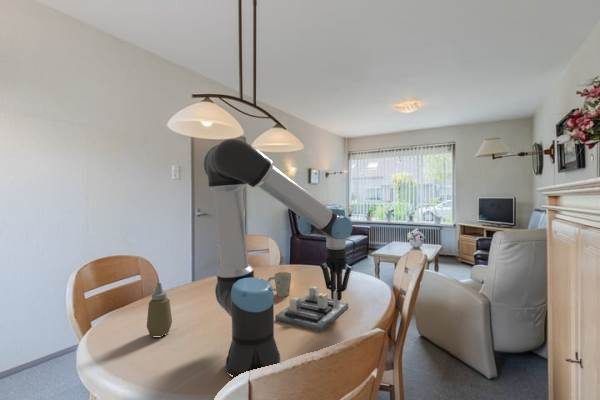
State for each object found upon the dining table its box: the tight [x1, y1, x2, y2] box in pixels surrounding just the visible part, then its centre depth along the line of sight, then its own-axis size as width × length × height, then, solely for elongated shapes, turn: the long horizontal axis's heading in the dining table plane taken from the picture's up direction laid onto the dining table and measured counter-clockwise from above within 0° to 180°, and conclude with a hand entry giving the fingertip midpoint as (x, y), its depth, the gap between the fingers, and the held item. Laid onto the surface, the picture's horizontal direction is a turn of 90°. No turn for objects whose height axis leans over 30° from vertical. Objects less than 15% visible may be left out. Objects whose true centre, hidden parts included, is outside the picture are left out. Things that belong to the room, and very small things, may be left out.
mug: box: [266, 271, 292, 298], centre depth 143 cm, size 8×13×10 cm, turn 78°
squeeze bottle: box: [146, 282, 173, 337], centre depth 102 cm, size 8×8×18 cm
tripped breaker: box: [318, 292, 329, 309], centre depth 117 cm, size 3×3×5 cm
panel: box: [274, 285, 349, 332], centre depth 119 cm, size 26×20×8 cm
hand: (336, 307), depth 114 cm, fingers closed
